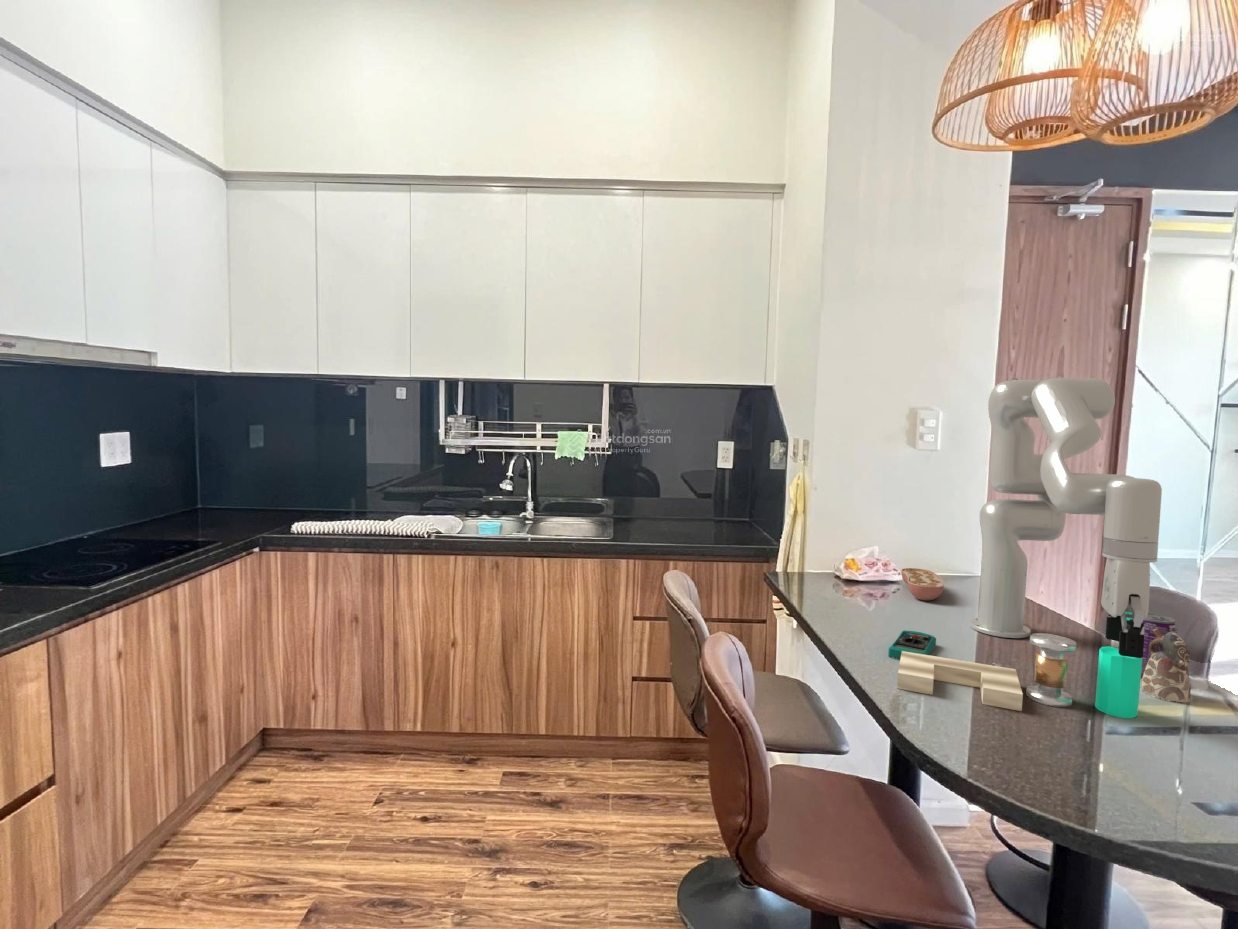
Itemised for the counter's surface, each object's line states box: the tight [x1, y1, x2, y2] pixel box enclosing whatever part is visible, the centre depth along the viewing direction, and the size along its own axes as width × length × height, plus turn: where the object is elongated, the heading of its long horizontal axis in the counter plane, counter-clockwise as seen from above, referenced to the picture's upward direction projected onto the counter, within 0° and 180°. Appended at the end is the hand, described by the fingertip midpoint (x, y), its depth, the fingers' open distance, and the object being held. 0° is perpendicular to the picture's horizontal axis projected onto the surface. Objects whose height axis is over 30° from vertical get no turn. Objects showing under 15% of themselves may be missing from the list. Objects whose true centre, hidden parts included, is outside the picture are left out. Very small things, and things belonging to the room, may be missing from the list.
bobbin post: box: [1025, 632, 1077, 708], centre depth 120 cm, size 7×7×11 cm
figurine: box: [1141, 628, 1192, 703], centre depth 123 cm, size 7×7×12 cm
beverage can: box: [1141, 612, 1179, 678], centre depth 132 cm, size 7×7×12 cm
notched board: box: [896, 651, 1024, 712], centre depth 125 cm, size 13×20×3 cm, turn 64°
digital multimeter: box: [887, 630, 937, 660], centre depth 144 cm, size 7×15×3 cm, turn 146°
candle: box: [1094, 645, 1142, 719], centre depth 116 cm, size 6×6×12 cm
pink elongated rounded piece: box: [900, 567, 944, 602], centre depth 192 cm, size 23×10×5 cm, turn 164°
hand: (1123, 648), depth 115 cm, fingers open, 9 cm apart
